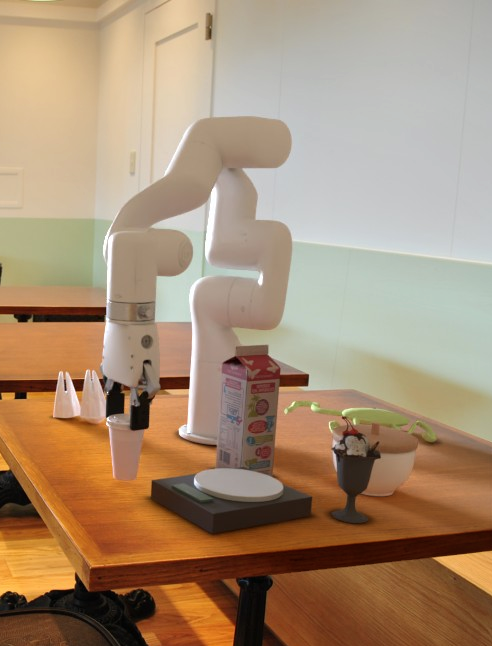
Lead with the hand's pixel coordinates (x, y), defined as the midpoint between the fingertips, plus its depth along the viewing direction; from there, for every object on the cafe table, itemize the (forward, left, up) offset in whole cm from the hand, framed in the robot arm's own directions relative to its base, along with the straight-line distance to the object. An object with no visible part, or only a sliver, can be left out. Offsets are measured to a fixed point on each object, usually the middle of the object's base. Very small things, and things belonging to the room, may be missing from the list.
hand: (126, 422), depth 132 cm
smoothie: (0, 0, -9) cm, 9 cm away
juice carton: (-22, +2, -11) cm, 25 cm away
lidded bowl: (-36, +16, -11) cm, 41 cm away
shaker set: (-13, -38, -11) cm, 41 cm away
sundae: (-23, +24, -11) cm, 35 cm away
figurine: (-60, -9, -11) cm, 62 cm away
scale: (-9, +14, -10) cm, 20 cm away
